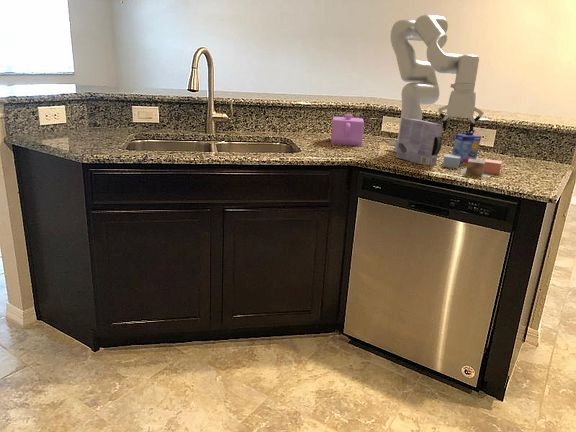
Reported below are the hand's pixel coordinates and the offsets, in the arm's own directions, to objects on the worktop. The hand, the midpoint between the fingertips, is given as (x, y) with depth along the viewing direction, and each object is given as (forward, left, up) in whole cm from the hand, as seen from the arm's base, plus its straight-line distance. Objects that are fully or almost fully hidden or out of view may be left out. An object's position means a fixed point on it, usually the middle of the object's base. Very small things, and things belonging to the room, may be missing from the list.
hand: (457, 131), depth 191 cm
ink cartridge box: (+4, +14, -15) cm, 21 cm away
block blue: (0, 0, -15) cm, 15 cm away
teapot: (-54, +26, -15) cm, 62 cm away
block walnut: (+10, -9, -14) cm, 19 cm away
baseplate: (+10, -9, -15) cm, 20 cm away
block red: (+16, 0, -15) cm, 22 cm away
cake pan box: (-14, +1, -15) cm, 21 cm away
